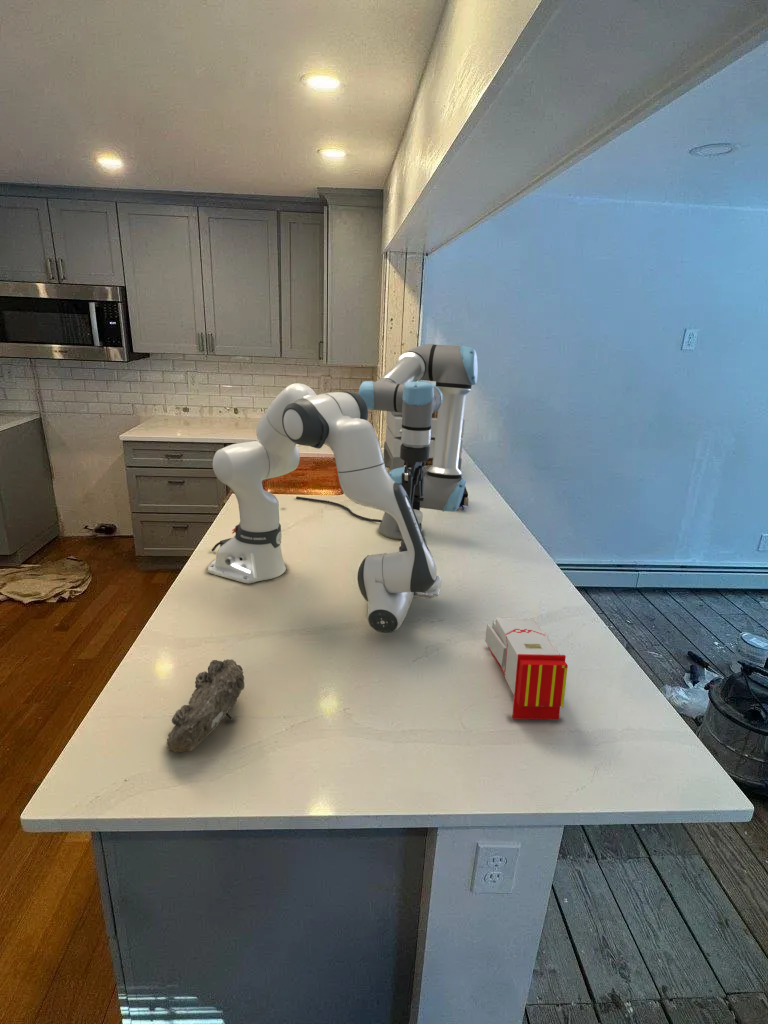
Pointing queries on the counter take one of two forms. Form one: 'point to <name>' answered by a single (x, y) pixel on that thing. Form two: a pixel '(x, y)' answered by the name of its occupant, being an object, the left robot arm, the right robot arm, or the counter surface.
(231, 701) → the fossil
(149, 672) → the counter surface
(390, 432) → the grey slatted crate
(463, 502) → the figurine character
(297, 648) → the counter surface
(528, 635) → the toy
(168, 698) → the counter surface
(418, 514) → the lid
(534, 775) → the counter surface
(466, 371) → the right robot arm
